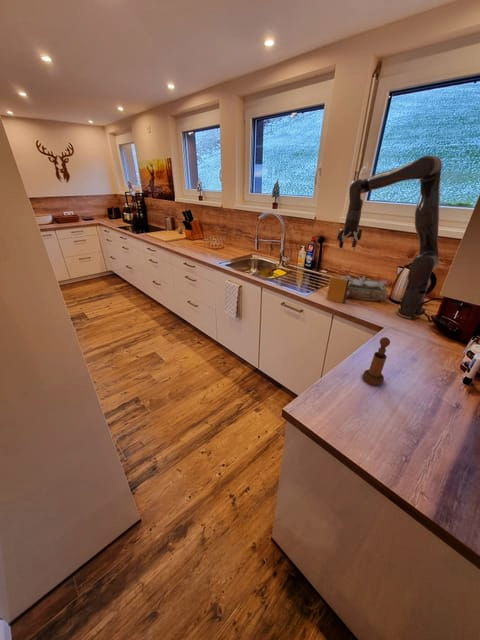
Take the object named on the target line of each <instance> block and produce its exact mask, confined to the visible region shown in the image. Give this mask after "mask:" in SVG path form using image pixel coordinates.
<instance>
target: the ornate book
mask: <svg viewBox="0 0 480 640" xmlns="http://www.w3.org/2000/svg"><path fill="white" fill-rule="evenodd" d="M340 278H346V279H350V280H349V285H348V289H347V294H346V298H345V299H347V298H353V299H357V300H363V301H370V302H371V301H373V302H374V301H376V302H377V301H380V303H382V302H383V301H384V300H385V302H387V298H390V295H387V293H389V291H388V290H387V287H386V286H385V285H388V286H389V285H390V283H387V282H388V280H374V279H366V277H364V276H362V277H360V276H358V278H354V277H352V276H350V275H348V274H346V275H340Z"/></svg>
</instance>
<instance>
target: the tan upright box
mask: <svg viewBox="0 0 480 640" xmlns="http://www.w3.org/2000/svg"><path fill="white" fill-rule="evenodd" d="M349 280H350V279H346V278H341V276H334V275H332V276H330V277H329V282H328V288H327V293H326V300H327V301H332V302H336V303H340V304H345V302H346V299H347V298H346V294H347V289H348V285H349Z"/></svg>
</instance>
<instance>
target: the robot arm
mask: <svg viewBox="0 0 480 640" xmlns="http://www.w3.org/2000/svg"><path fill="white" fill-rule="evenodd" d="M442 163H443V162H442V159H441V158H440V157H439V156H437V155H424V156H421V157H419V158H417V159H415V160H413V161H411V162H409V163H406V164H404V165H402V166H398V167H396V168H392V169H390V170H386V171H383V172H378V173H375V174H373V175H371V176H370V177H367V178H357V179H354V180H353V181H352V182H351V184H350V185H349V189H348V193H349V195H348V196H349V203H348V208H347V212H346V217H345V222H344V229H339V230H338V233H337V237H336V240H337V241H339V243H338V247H339V248H340V249H343V248H344V241H345V240H347V238H352V239H353V240H352V243H351V247H352V248H356V246H357V242H358V241H361V238H362V233H363V229H362V228H359V226H360V221H361V217H362V209H363V206H364V200H363V199H362V198H361V197H362V196H361V195H362V194H366V193H369V192H373V191H375V190H379V189H383V188H387V187H389V186H392V185H394V184H397V183H400V182H405V181H410V180H419V184H420V192H419V193H420V194H419V197H418V201H417V202H416V203H417V204H416V207H415V211H414V228H415V232H416V235H417V238H418V242H419V251H418V252H419V253H418V255H417V256H416V257H415V258H413V260H412V262H411V265H410V268H409V271H408V275H407V282H406V285H405V287H404V290H403V294H402V297H401V299H400V303H399V304H398V309H397V311H396V314H397V316H399V317H401V318H404V319H408V320H412V321H414V320H415V319H417V318H419V317H421V316H422V315H424V316H426V318H427V320H428V322H430V323H433V322H434V321H433V320H434V319H431V317H430V316H429V315H428V314H427V313H426V310H427V309H426V308H424V307H423V306H424V303H425V300H424V299H425V296H426V294H427V291H428V288H429V285H430V283H431V281H430V278H431V275H432V272H433V270H435V269H436V268H438V266H439V264H440V253H439V246H438V245H439V244H438V242H439V241H438V239H439V226H440V224H439V223H440V182H441V175H442V168H443V164H442Z"/></svg>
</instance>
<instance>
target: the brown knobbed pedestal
mask: <svg viewBox="0 0 480 640" xmlns="http://www.w3.org/2000/svg"><path fill="white" fill-rule="evenodd" d="M379 344H380V347H378V351H376V352H374V353H373V356H372V360H371V363H370V365H369V368H368V369H366V370H364V371H363V374H362V380H363V381H364V382H365V383H366V384H368V385H370V386H374V387H380V386H382V385H383V383H384V380H385V376H384V375H383V374H382V372H383V369H384V366H385V363H386V361H387V358H388V356H387V354H385V353H386V352H387V350H386V348H387V347H389V346H390V344H391V340H390V338H389V337H385V336H383V337H381V338H380V339H379Z"/></svg>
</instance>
